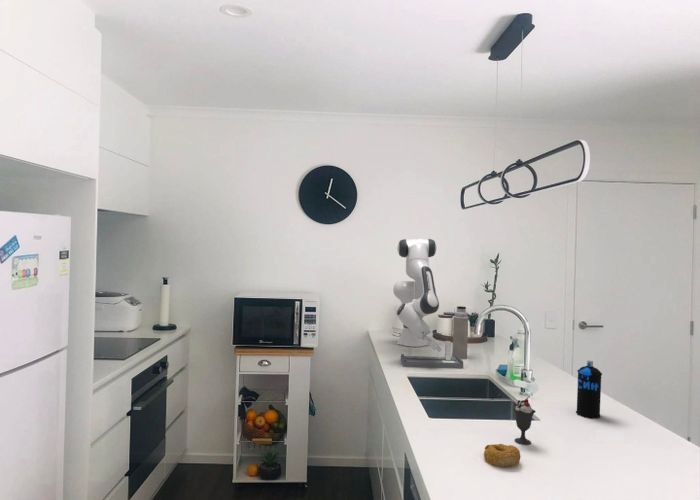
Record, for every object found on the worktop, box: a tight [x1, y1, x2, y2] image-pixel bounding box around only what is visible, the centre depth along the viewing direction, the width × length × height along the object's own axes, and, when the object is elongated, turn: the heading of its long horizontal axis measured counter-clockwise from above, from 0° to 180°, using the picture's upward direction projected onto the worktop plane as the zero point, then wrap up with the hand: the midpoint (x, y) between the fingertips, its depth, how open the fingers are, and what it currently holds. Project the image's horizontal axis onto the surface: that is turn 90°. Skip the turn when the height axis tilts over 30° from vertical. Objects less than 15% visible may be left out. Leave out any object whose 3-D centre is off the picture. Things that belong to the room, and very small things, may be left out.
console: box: [400, 353, 464, 369], centre depth 247 cm, size 13×30×4 cm, turn 90°
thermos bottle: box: [451, 305, 469, 360], centre depth 265 cm, size 8×8×28 cm
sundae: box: [512, 395, 536, 446], centre depth 150 cm, size 7×7×15 cm
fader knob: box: [444, 340, 452, 360], centre depth 247 cm, size 3×2×9 cm
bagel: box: [483, 443, 521, 469], centre depth 136 cm, size 10×11×5 cm
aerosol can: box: [575, 359, 603, 419], centre depth 177 cm, size 8×8×20 cm
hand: (439, 350), depth 247 cm, fingers closed
